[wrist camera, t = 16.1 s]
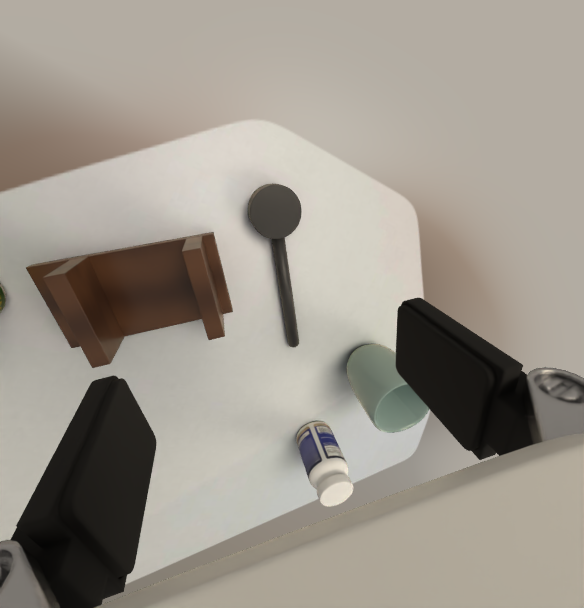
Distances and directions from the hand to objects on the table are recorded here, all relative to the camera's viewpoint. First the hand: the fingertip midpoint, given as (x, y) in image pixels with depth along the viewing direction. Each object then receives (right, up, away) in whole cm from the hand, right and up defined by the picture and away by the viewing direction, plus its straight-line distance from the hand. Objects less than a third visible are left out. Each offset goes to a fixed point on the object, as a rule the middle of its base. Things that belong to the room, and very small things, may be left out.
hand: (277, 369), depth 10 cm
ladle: (-1, +6, +24) cm, 24 cm away
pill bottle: (+4, -18, +37) cm, 41 cm away
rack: (-15, +4, +21) cm, 26 cm away
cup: (+11, -6, +33) cm, 35 cm away
